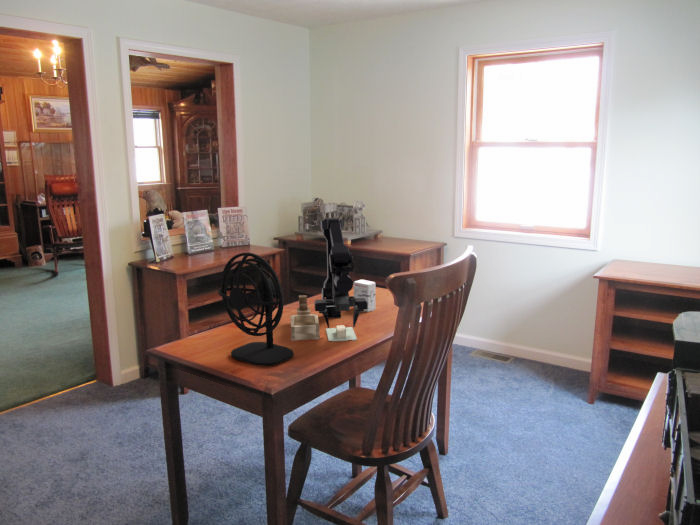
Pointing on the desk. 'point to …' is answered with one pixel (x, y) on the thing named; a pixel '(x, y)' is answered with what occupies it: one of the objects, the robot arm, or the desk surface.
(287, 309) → the desk surface
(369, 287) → the ink box
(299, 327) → the beige piece
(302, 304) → the brown l-shaped block
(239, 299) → the desk fan
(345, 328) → the lid
